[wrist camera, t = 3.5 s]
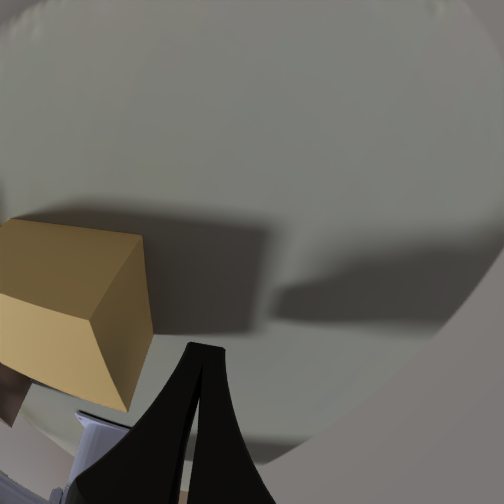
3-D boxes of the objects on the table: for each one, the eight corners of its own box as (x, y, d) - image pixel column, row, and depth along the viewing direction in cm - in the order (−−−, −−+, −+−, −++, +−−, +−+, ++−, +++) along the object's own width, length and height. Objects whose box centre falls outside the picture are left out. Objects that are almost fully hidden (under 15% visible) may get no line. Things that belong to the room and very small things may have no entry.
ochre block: (154, 332, 15) (127, 412, 10) (40, 303, 14) (1, 363, 10) (143, 233, 11) (88, 320, 7) (12, 216, 11) (-49, 273, 7)
